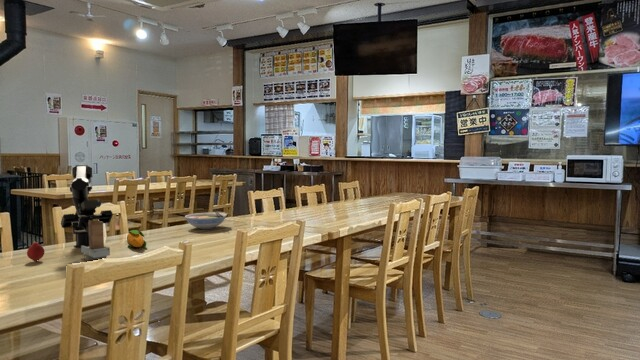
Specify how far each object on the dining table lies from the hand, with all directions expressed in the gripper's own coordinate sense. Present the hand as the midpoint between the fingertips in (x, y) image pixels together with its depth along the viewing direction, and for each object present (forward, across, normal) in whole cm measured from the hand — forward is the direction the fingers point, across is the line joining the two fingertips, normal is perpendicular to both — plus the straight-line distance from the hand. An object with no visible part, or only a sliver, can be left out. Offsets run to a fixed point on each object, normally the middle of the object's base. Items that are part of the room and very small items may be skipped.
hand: (93, 234), depth 184 cm
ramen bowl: (-13, +70, +27) cm, 76 cm away
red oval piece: (-1, -18, +15) cm, 23 cm away
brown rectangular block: (+6, 0, +2) cm, 6 cm away
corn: (+1, +22, +13) cm, 25 cm away
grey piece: (+8, 0, +6) cm, 10 cm away
